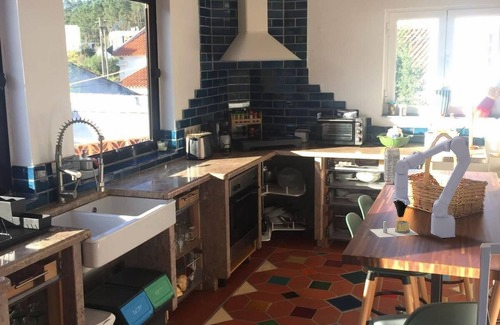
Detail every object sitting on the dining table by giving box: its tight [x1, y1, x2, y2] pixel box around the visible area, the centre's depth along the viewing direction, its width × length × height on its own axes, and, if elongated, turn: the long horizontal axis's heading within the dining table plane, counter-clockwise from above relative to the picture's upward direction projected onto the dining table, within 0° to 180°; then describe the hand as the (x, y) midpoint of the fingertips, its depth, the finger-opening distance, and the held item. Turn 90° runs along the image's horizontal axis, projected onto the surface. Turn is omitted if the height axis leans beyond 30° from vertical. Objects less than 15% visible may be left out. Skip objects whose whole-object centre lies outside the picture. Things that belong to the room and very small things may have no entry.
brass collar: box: [395, 219, 410, 232], centre depth 248 cm, size 5×5×4 cm
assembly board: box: [369, 220, 420, 238], centre depth 247 cm, size 18×12×6 cm, turn 98°
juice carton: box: [383, 144, 401, 185], centre depth 350 cm, size 9×8×24 cm
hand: (400, 216), depth 249 cm, fingers closed
